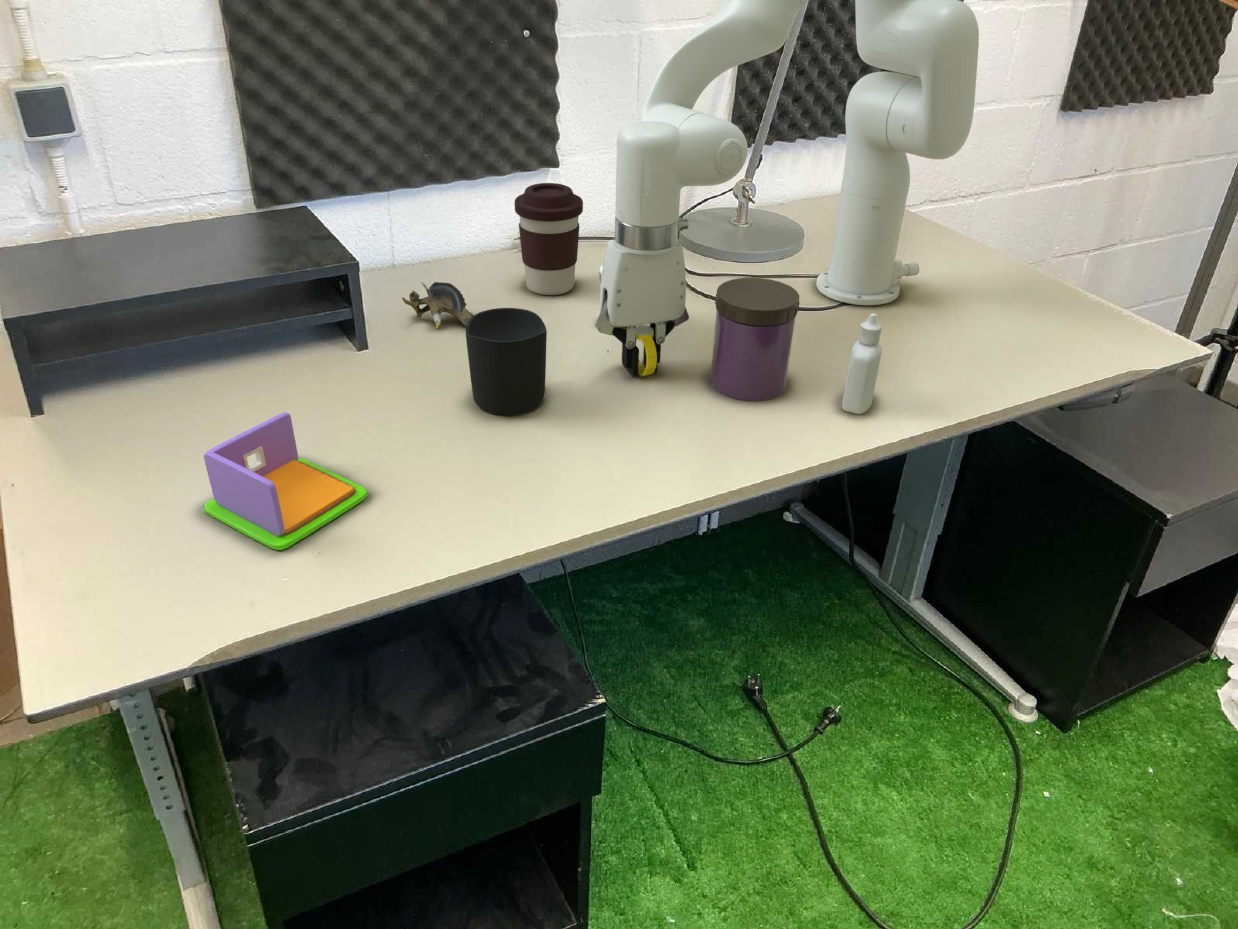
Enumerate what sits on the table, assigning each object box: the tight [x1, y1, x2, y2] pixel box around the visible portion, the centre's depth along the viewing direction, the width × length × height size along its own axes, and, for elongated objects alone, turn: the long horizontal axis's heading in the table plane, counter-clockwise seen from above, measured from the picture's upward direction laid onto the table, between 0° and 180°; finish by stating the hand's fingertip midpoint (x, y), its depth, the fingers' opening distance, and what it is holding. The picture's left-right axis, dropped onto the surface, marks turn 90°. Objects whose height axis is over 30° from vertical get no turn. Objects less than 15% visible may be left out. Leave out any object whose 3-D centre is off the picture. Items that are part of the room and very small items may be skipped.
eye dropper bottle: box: [841, 313, 883, 415], centre depth 115 cm, size 4×6×12 cm
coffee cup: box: [514, 182, 584, 296], centre depth 143 cm, size 10×10×15 cm
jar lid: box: [714, 277, 800, 326], centre depth 116 cm, size 10×10×2 cm
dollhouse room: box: [203, 411, 368, 551], centre depth 96 cm, size 12×12×7 cm
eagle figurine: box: [401, 280, 475, 330], centre depth 134 cm, size 8×7×9 cm
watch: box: [635, 324, 658, 377], centre depth 123 cm, size 6×3×6 cm, turn 27°
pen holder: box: [465, 307, 548, 417], centre depth 115 cm, size 9×9×10 cm
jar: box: [709, 310, 796, 402], centre depth 119 cm, size 10×10×12 cm
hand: (640, 369), depth 124 cm, fingers closed on watch, 2 cm apart
